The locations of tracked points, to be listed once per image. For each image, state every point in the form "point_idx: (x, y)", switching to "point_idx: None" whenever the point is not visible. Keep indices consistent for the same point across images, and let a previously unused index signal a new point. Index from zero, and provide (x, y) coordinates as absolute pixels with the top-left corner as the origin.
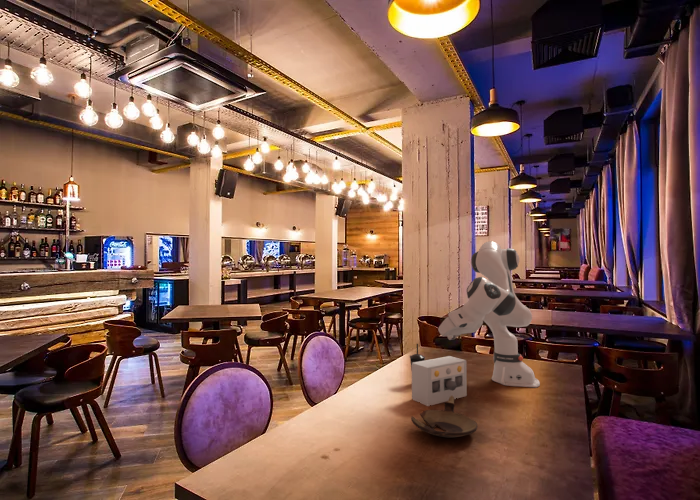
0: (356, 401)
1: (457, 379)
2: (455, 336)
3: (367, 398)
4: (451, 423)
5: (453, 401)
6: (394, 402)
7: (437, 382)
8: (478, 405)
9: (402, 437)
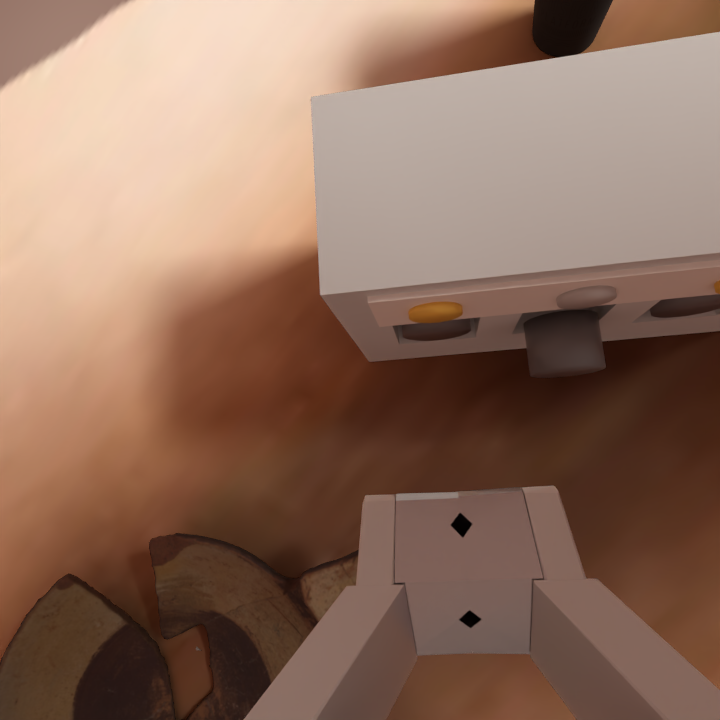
0: (101, 147)
1: (681, 304)
2: (533, 654)
3: (169, 131)
4: (270, 672)
5: None
6: (249, 235)
7: (448, 323)
8: (668, 500)
9: (7, 620)
